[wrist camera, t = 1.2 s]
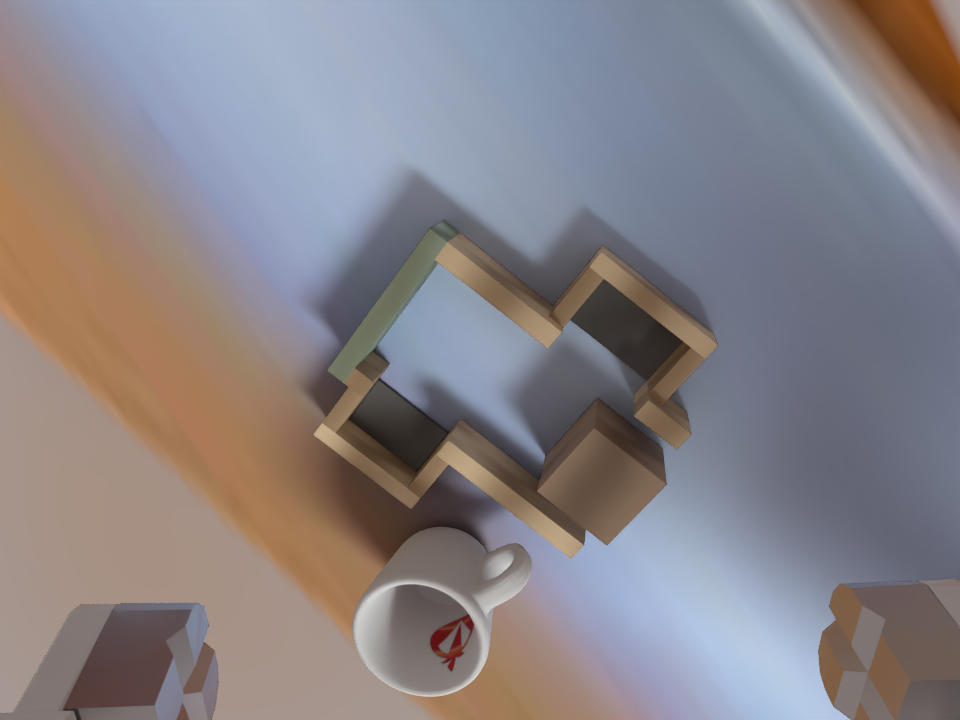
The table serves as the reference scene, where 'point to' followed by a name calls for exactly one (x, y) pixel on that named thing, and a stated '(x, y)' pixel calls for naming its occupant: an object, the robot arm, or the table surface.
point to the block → (602, 472)
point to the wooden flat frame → (587, 302)
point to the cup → (436, 610)
